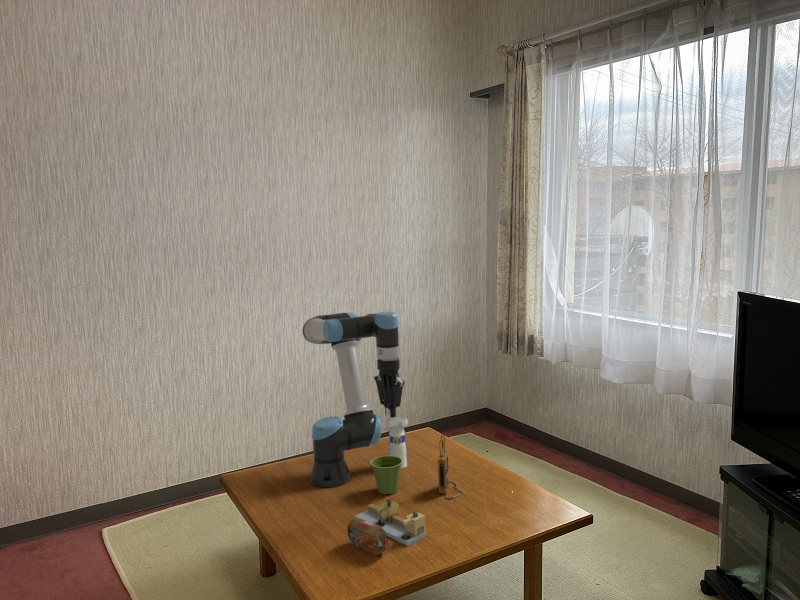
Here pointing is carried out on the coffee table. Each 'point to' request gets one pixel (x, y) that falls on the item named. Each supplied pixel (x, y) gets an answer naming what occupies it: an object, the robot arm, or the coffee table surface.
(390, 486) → the plant pot
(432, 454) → the coffee table surface
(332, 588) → the coffee table surface
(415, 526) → the linear rail with blocks
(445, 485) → the multimeter
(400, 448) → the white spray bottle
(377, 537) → the tin
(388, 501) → the slider
